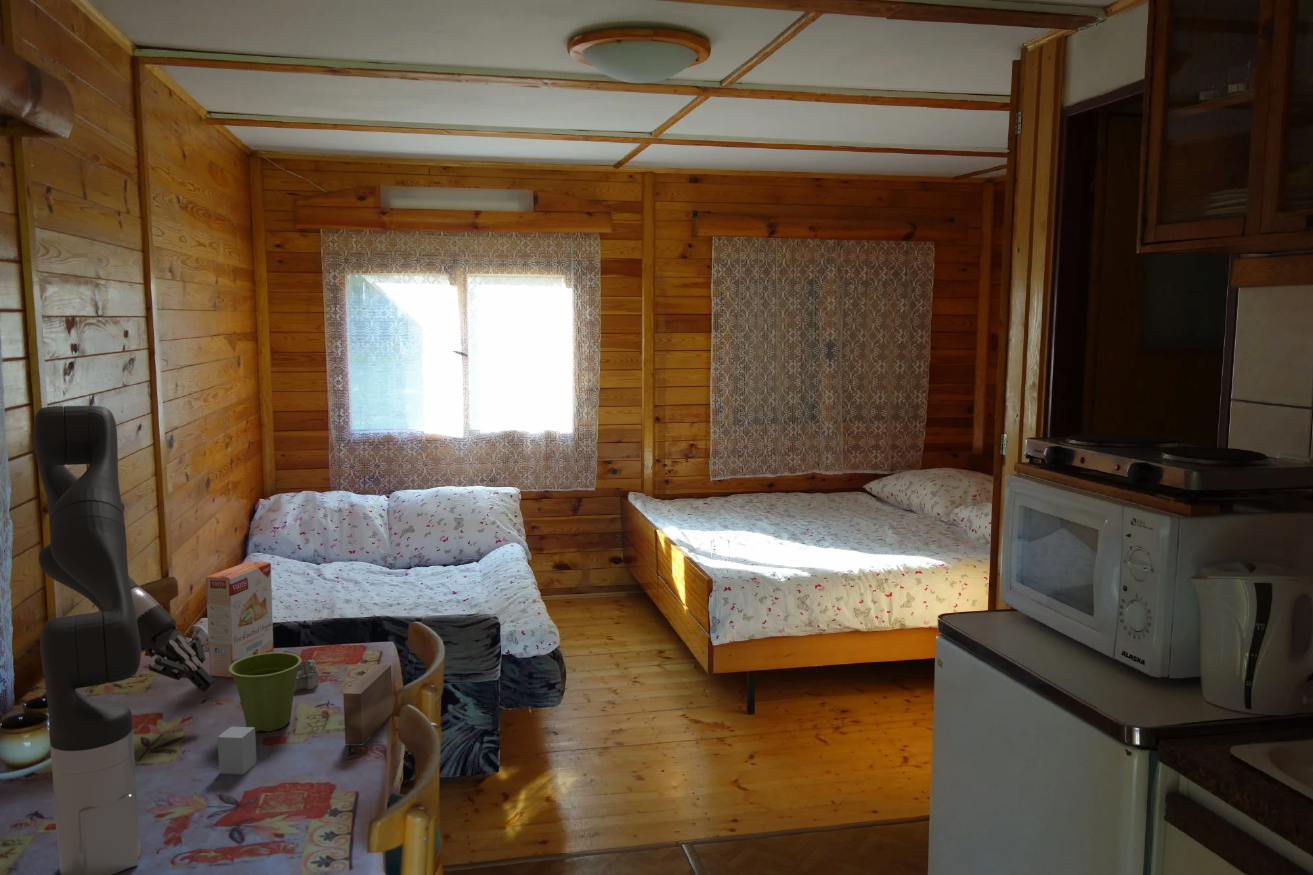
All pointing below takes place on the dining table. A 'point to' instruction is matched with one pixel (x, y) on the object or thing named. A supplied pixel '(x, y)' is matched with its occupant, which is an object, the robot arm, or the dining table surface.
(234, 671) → the plant pot
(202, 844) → the dining table surface
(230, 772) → the grey upright block
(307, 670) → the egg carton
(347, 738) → the rail
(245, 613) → the cracker box
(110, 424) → the robot arm
